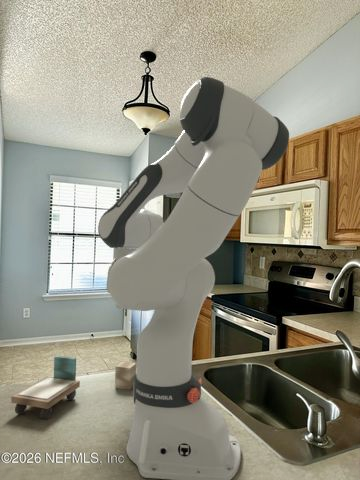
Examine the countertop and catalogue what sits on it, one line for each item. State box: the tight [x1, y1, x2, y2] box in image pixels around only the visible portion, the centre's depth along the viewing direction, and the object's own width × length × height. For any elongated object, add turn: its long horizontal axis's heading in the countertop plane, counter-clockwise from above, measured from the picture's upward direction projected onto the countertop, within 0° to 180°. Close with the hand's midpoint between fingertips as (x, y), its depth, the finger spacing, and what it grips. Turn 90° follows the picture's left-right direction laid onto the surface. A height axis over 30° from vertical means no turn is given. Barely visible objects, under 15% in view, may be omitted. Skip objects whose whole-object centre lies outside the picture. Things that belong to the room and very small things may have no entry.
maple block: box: [114, 361, 137, 390], centre depth 98 cm, size 4×4×6 cm
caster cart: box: [10, 355, 81, 420], centre depth 84 cm, size 10×14×10 cm
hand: (127, 305), depth 98 cm, fingers open, 8 cm apart
